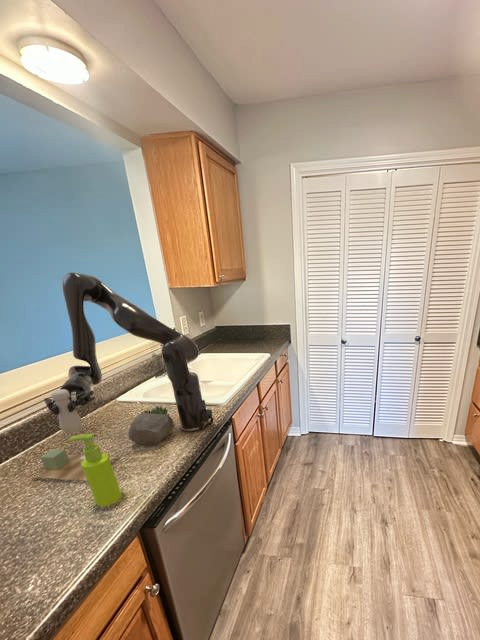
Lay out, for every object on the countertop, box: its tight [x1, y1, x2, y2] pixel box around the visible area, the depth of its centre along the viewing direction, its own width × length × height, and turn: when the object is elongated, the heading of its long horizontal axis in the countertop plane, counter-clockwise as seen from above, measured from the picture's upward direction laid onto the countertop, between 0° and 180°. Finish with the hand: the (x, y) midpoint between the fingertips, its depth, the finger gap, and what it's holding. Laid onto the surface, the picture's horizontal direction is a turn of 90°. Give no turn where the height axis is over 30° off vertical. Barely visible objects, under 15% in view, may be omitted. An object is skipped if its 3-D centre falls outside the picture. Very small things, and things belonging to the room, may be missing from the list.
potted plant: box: [128, 405, 175, 446], centre depth 113 cm, size 12×13×15 cm
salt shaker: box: [50, 389, 83, 435], centre depth 96 cm, size 6×6×13 cm
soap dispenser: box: [67, 433, 122, 508], centre depth 81 cm, size 6×7×20 cm
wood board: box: [34, 454, 116, 481], centre depth 99 cm, size 18×12×1 cm, turn 82°
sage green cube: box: [40, 448, 70, 470], centre depth 99 cm, size 4×4×4 cm
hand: (62, 410), depth 92 cm, fingers closed on salt shaker, 3 cm apart
